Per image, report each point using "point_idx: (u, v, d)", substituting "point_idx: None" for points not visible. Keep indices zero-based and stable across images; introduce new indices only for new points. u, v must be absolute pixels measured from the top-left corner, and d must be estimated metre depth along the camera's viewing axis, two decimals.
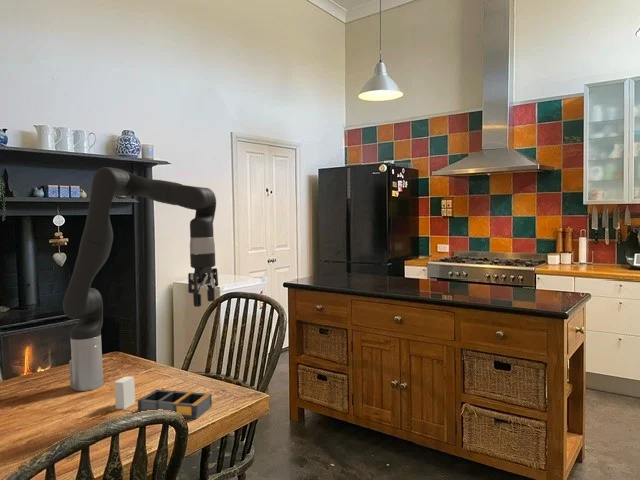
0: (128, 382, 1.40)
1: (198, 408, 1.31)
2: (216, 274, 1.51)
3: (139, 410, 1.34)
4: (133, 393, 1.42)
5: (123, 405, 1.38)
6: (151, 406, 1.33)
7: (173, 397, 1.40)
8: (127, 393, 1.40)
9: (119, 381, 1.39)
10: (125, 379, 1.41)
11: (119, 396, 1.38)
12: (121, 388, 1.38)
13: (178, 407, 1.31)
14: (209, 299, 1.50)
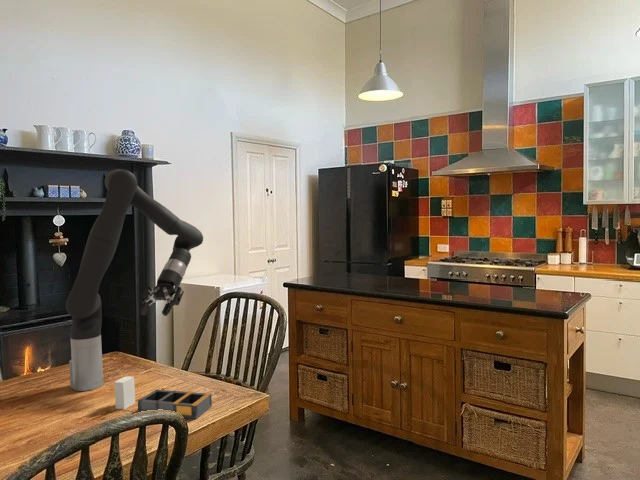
0: (128, 382, 1.40)
1: (198, 408, 1.31)
2: None
3: (139, 410, 1.34)
4: (133, 393, 1.42)
5: (123, 405, 1.38)
6: (151, 406, 1.33)
7: (173, 397, 1.40)
8: (127, 393, 1.40)
9: (119, 381, 1.39)
10: (125, 379, 1.41)
11: (119, 396, 1.38)
12: (121, 388, 1.38)
13: (178, 407, 1.31)
14: (143, 311, 1.56)
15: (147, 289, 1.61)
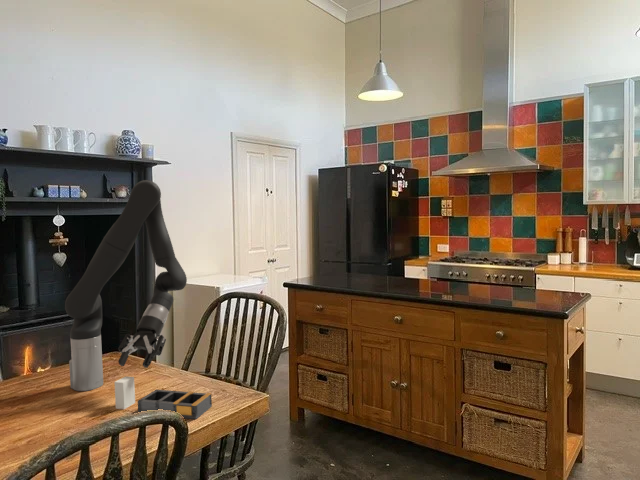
0: (128, 382, 1.40)
1: (198, 408, 1.31)
2: None
3: (139, 410, 1.34)
4: (133, 393, 1.42)
5: (123, 405, 1.38)
6: (151, 406, 1.33)
7: (173, 397, 1.40)
8: (127, 393, 1.40)
9: (119, 381, 1.39)
10: (125, 379, 1.41)
11: (119, 396, 1.38)
12: (121, 388, 1.38)
13: (178, 407, 1.31)
14: (122, 362, 1.45)
15: (126, 337, 1.51)
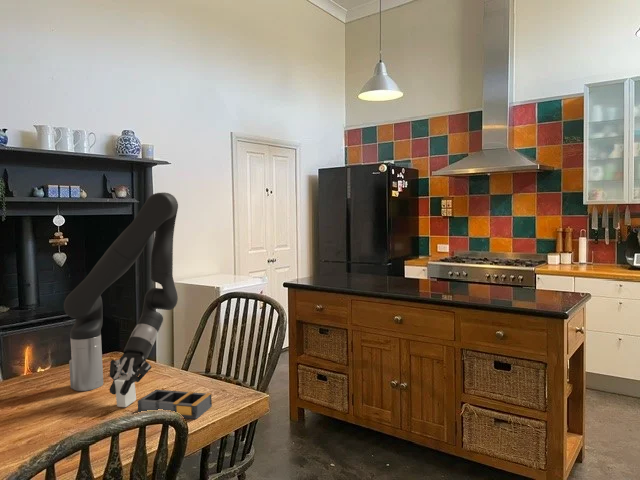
0: None
1: (198, 408, 1.31)
2: None
3: (139, 410, 1.34)
4: (134, 391, 1.43)
5: (124, 403, 1.39)
6: (151, 406, 1.33)
7: (173, 397, 1.40)
8: None
9: (119, 380, 1.39)
10: (125, 377, 1.41)
11: (120, 395, 1.39)
12: (121, 386, 1.38)
13: (178, 407, 1.31)
14: (113, 390, 1.38)
15: (112, 363, 1.44)
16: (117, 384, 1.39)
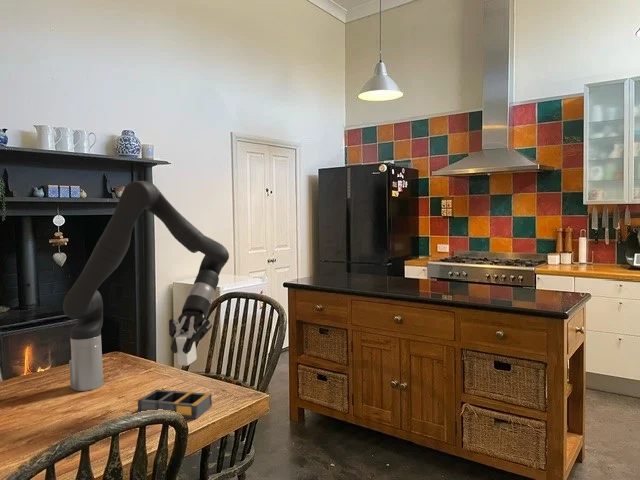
0: None
1: (198, 408, 1.31)
2: None
3: (139, 410, 1.34)
4: (194, 349, 1.37)
5: (186, 362, 1.33)
6: (151, 406, 1.33)
7: (173, 397, 1.40)
8: None
9: (180, 337, 1.33)
10: (186, 335, 1.35)
11: (181, 353, 1.33)
12: (183, 344, 1.32)
13: (178, 407, 1.31)
14: (174, 349, 1.32)
15: (171, 322, 1.38)
16: (179, 341, 1.32)
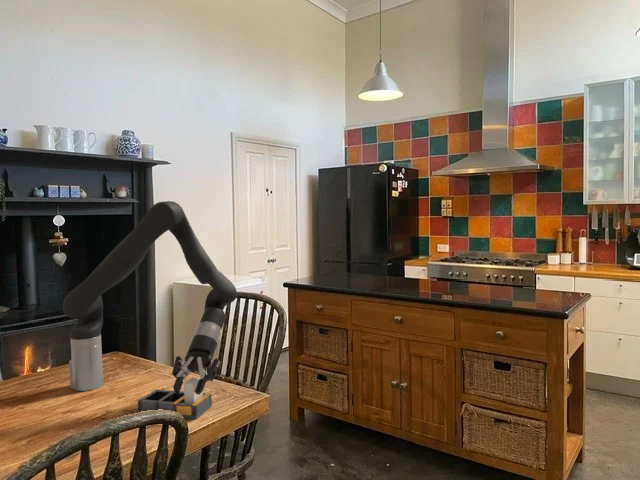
0: None
1: (198, 408, 1.31)
2: None
3: (139, 410, 1.34)
4: (201, 395, 1.37)
5: None
6: (151, 406, 1.33)
7: (173, 397, 1.40)
8: (196, 395, 1.34)
9: (188, 383, 1.34)
10: (194, 380, 1.35)
11: (189, 399, 1.33)
12: (191, 390, 1.33)
13: (178, 407, 1.31)
14: (177, 389, 1.33)
15: (177, 360, 1.38)
16: (187, 387, 1.33)
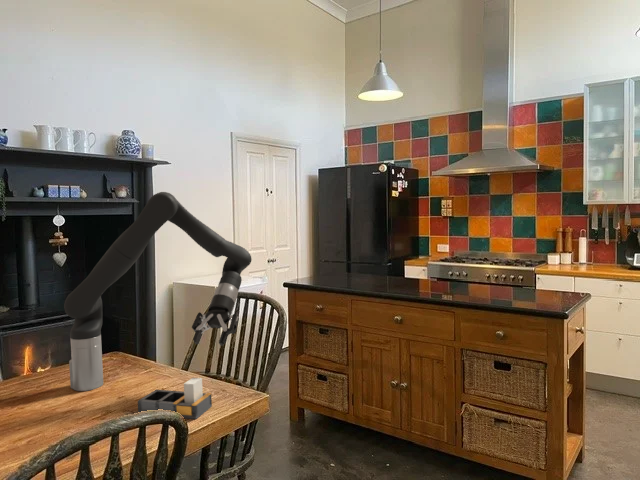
0: (197, 383, 1.35)
1: (198, 408, 1.31)
2: None
3: (139, 410, 1.34)
4: (201, 395, 1.37)
5: None
6: (151, 406, 1.33)
7: (173, 397, 1.40)
8: (196, 395, 1.34)
9: (188, 383, 1.34)
10: (194, 380, 1.35)
11: (189, 399, 1.33)
12: (191, 390, 1.33)
13: (178, 407, 1.31)
14: (196, 340, 1.45)
15: (198, 316, 1.51)
16: (187, 387, 1.33)
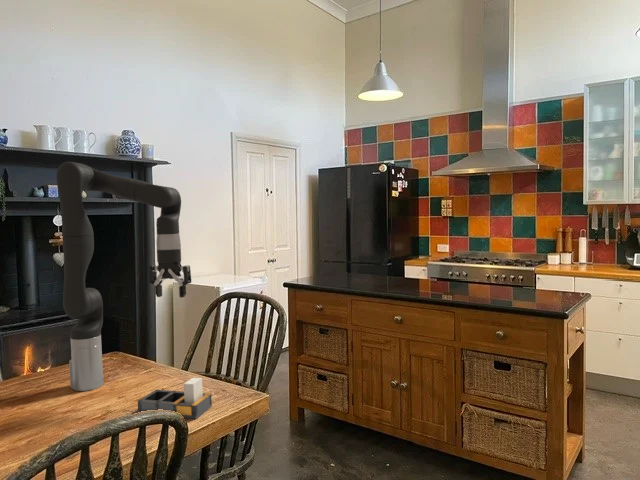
0: (197, 383, 1.35)
1: (198, 408, 1.31)
2: None
3: (139, 410, 1.34)
4: (201, 395, 1.37)
5: None
6: (151, 406, 1.33)
7: (173, 397, 1.40)
8: (196, 395, 1.34)
9: (188, 383, 1.34)
10: (194, 380, 1.35)
11: (189, 399, 1.33)
12: (191, 390, 1.33)
13: (178, 407, 1.31)
14: (159, 295, 1.55)
15: (151, 270, 1.54)
16: (187, 387, 1.33)
